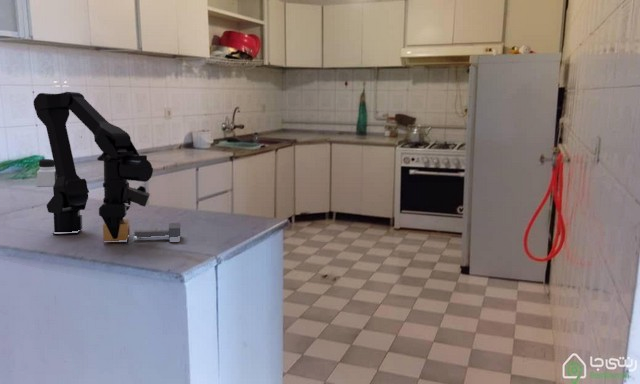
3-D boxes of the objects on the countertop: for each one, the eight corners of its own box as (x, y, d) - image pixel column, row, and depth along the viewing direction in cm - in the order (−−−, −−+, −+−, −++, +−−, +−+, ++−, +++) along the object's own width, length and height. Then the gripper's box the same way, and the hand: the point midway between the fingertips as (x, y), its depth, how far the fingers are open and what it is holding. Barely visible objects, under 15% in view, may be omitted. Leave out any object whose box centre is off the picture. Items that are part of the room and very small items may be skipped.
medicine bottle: (55, 186, 231) (54, 160, 229) (37, 186, 228) (36, 160, 226) (57, 184, 237) (56, 158, 235) (39, 184, 235) (38, 158, 233)
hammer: (133, 243, 136) (133, 229, 135) (135, 237, 142) (135, 223, 142) (180, 242, 139) (180, 228, 138) (180, 236, 146) (180, 222, 145)
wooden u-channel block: (103, 243, 134) (103, 224, 133) (106, 237, 140) (106, 219, 140) (127, 242, 136) (127, 224, 135) (129, 236, 142) (129, 219, 141)
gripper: (145, 183, 129) (146, 243, 131) (149, 174, 147) (149, 227, 149) (97, 183, 126) (99, 244, 128) (107, 174, 144) (108, 228, 146)
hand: (116, 235), depth 138 cm, fingers closed on wooden u-channel block, 6 cm apart
